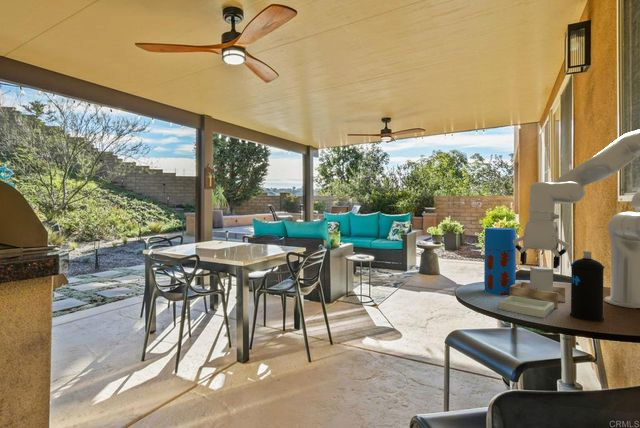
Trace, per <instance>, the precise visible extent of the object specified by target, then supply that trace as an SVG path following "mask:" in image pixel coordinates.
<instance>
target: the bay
mask: <svg viewBox="0 0 640 428" xmlns="http://www.w3.org/2000/svg"><path fill="white" fill-rule="evenodd" d="M510 295H511V296H517V297H523V298H529V299H535V300H541V301H548V302H554V309H559V302H562V303H565V302H566V287H565V286H559V285H558V286H557V285H553V292H548V291H541V290H535V289H530V281H529V282H528V281H520V280H519V281H517V282H515V284H513V285H511V286H509V296H510ZM509 296H508V297H509Z"/></svg>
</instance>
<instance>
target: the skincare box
mask: <svg viewBox="0 0 640 428" xmlns="http://www.w3.org/2000/svg"><path fill="white" fill-rule="evenodd" d="M529 271H530V272H529V274H530V275H529V283H530V289H535V290H541V291H548V292H553V286H554V268H551V267H546V266H545V267H544V266H530V267H529Z"/></svg>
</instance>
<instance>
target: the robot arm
mask: <svg viewBox="0 0 640 428" xmlns="http://www.w3.org/2000/svg"><path fill="white" fill-rule="evenodd" d="M639 157H640V129H636V130H633V131H629V132H626V133H624V134H623V135H621V136H619V137H618V138H617V139H615V140H613V142H611V143H610V144H609V145H607V146H606V147H605V148H603V149H602V150H601V151H599V152H598V153H596V154H595V155H593V156H592V157H590V158H589V159H587V160H585V161H584V162H582V163H580V164H579V165H577V166H575V167H574V168H572V169H570V170H569V171H566V172H565V173H563V174H562V175H561V176H560V177H558V178H557V179H555V180H554V181H550V182H549V181H547V182H546V181H537V182H533V183H531V184H530V186H529V187H530V188H529V204H528V205H529V207H528V220H526V221H525V222H526V223H525V226H524V231H523V235H522V236H521V237H518V238H517V237H516V239H515V240H513V243H514V245H515V247H516V249H515V250H516V251H518V252H519V254H520V255H519V257H520V260H519V262H521V265H525V264H527V255H528V254H527V251H528V250H529V249H531V250H540V251H551V252H552V253H553V254H554V256H553V265H552V267H553V268H552V269H558V267H560V263H561V257H562V256H563V255H564V254H565V253H567V252H568V250H569V249H570V248H571V244H570V243H568V242H566V241H564V240H562V239H560V238H559V227H558V222H557V221H555V220H556V219H560V214H556V213H555V207H556V206H555V205H556V204H557V205H558V204H560V205H561V204H562V205H563V204H565V205H569V204H570V205H571V204H576V203H578V202H581V200H582V199H584V197H585V195H586V190H585V187H586V186H588V185H590V184H593V183H596V182H599V181H603V180H605V179H609V178H610V177H612V176H613V175H615V174H617V173H618V172H619V171H620V170H621V169H623V168H625V167H626V166H627V165H629V164H630V163H632V162H633V161H634V160H636V159H637V158H639ZM631 206H632V208H633V209H635V211H623V212H618V213H616V214H614V215H613V216H612V217H611V218H610V219H609V221H608V223H607V230H608V235H609V239H610V295H609V296H605V297H604V301H605V302H606V303H608V304H609V305H613V306H618V307H623V308H630V309H636V308H640V187H639V188H638V189H637V190H636V192H635V193H634V194H633V196H632V198H631ZM520 242H522V246H521V245H520ZM559 245H561V246H562V247H563V248H562V249H561V250H558V249H559Z"/></svg>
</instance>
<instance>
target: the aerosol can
mask: <svg viewBox="0 0 640 428" xmlns="http://www.w3.org/2000/svg"><path fill="white" fill-rule="evenodd" d="M582 253H583V257H581V258H578V259H576V260H573V262H572V263H570V264H569V265H570V268H571V273H570V276H571V280H570V284H571V285H570V313H569V315H570V317H572V318H574V319H576V320H577V319H578V320H581V321H585V322H586V321H587V322H593V323H594V322H596V323H597V322H604V320H605V318H604V271H605V270H604V269H605V268H606V267H605V266H604V265H603V264H602V263H601V262H599V261H598V260H596V259H593V258H592V251H589V250H588V251H587V250H585V251H583V252H582Z"/></svg>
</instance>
